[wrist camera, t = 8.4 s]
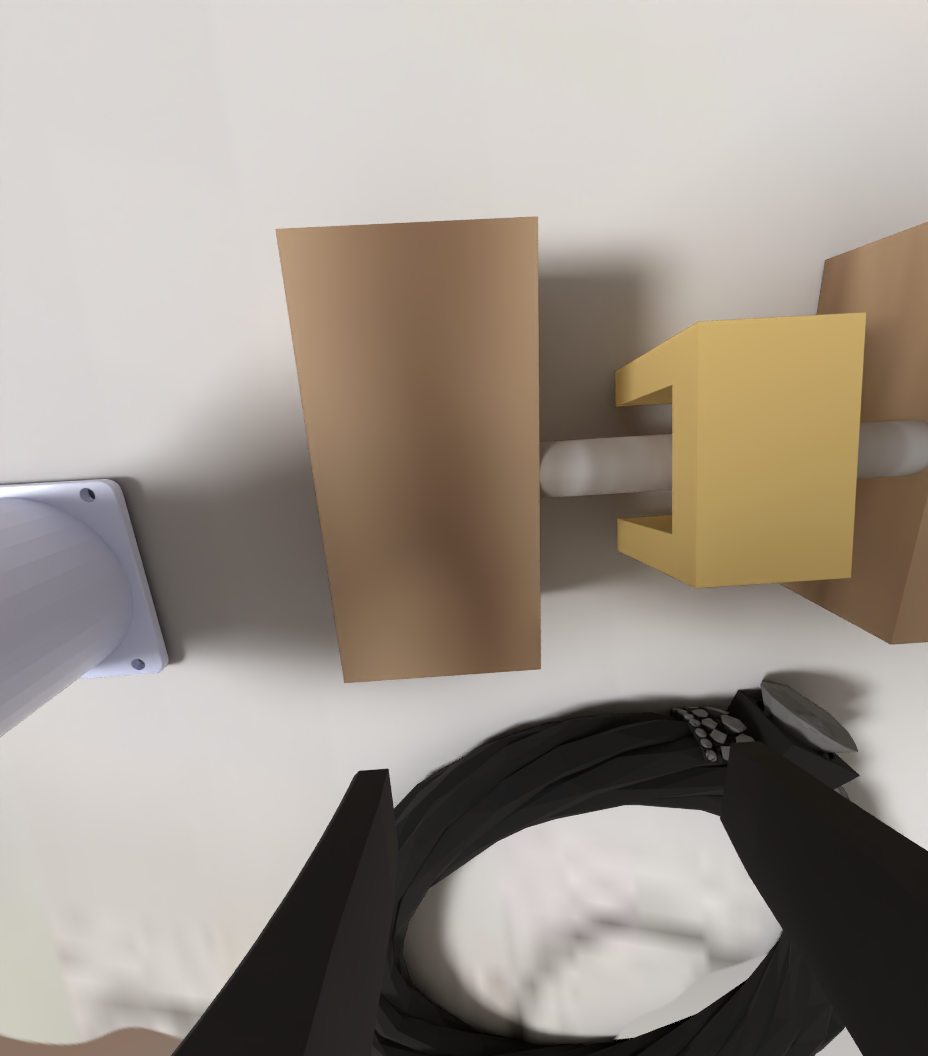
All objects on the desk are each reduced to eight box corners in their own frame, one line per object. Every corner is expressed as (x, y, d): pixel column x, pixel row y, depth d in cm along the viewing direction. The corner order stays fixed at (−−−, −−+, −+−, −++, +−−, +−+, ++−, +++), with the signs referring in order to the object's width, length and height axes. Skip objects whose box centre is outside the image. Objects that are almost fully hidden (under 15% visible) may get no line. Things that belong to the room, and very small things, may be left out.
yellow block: (618, 550, 16) (695, 588, 11) (615, 371, 15) (698, 321, 10) (724, 543, 16) (850, 577, 11) (727, 365, 15) (865, 312, 10)
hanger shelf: (371, 608, 18) (344, 683, 13) (331, 285, 15) (275, 229, 10) (913, 571, 19) (1076, 631, 14) (994, 251, 15) (1244, 182, 10)
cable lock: (228, 1094, 21) (541, 588, 14) (260, 991, 25) (522, 550, 18) (683, 1201, 26) (1089, 856, 19) (654, 1101, 29) (984, 781, 23)
